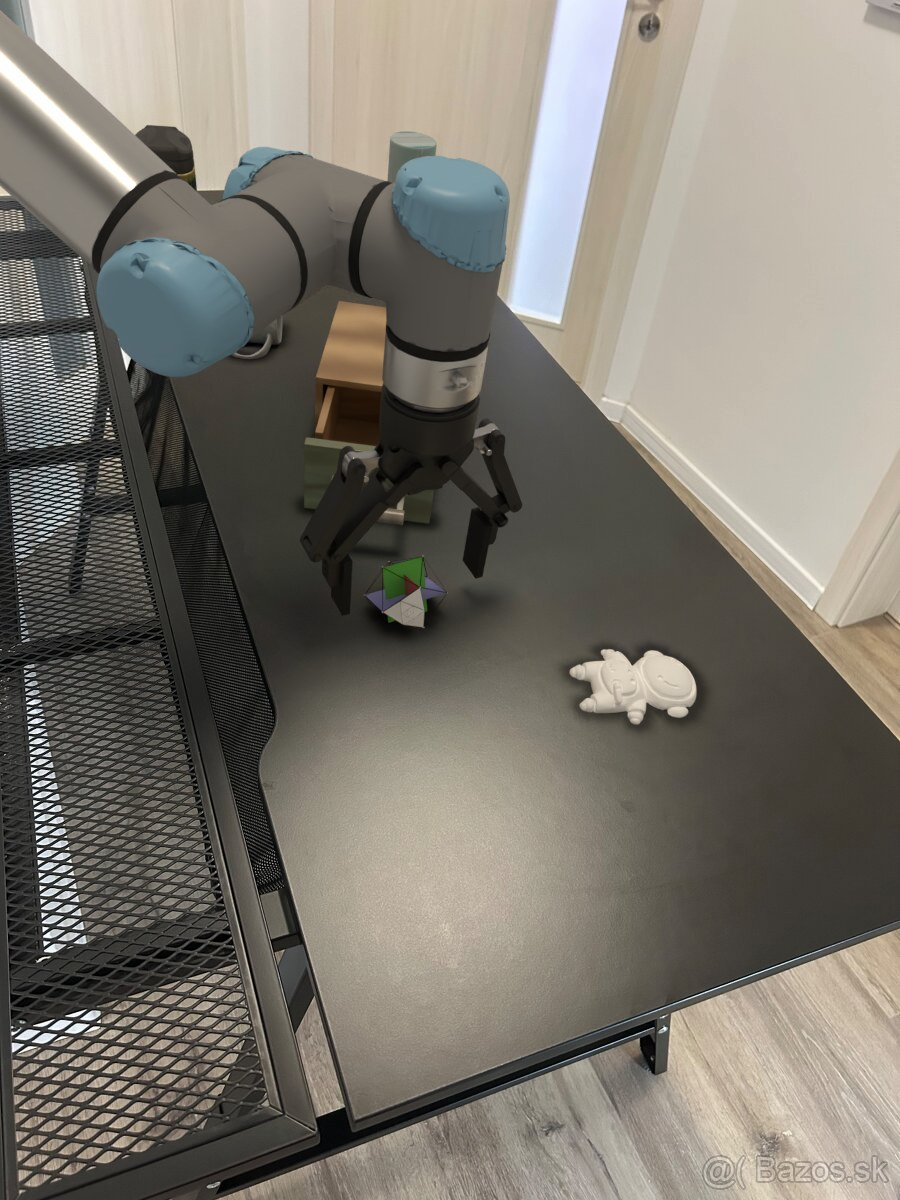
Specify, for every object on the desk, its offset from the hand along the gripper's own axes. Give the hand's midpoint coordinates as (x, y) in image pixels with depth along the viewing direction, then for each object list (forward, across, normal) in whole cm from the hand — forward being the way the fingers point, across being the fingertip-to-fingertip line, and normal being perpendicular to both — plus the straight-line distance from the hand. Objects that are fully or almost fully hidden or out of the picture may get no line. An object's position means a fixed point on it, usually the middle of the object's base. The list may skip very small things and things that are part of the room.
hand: (408, 586), depth 79 cm
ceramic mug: (+4, +2, +52) cm, 52 cm away
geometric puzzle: (+4, 0, 0) cm, 5 cm away
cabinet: (+4, +12, +31) cm, 34 cm away
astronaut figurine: (+5, +16, -16) cm, 23 cm away
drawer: (+3, +5, +19) cm, 20 cm away
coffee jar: (+4, -2, +75) cm, 75 cm away
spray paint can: (+4, +30, +65) cm, 72 cm away
